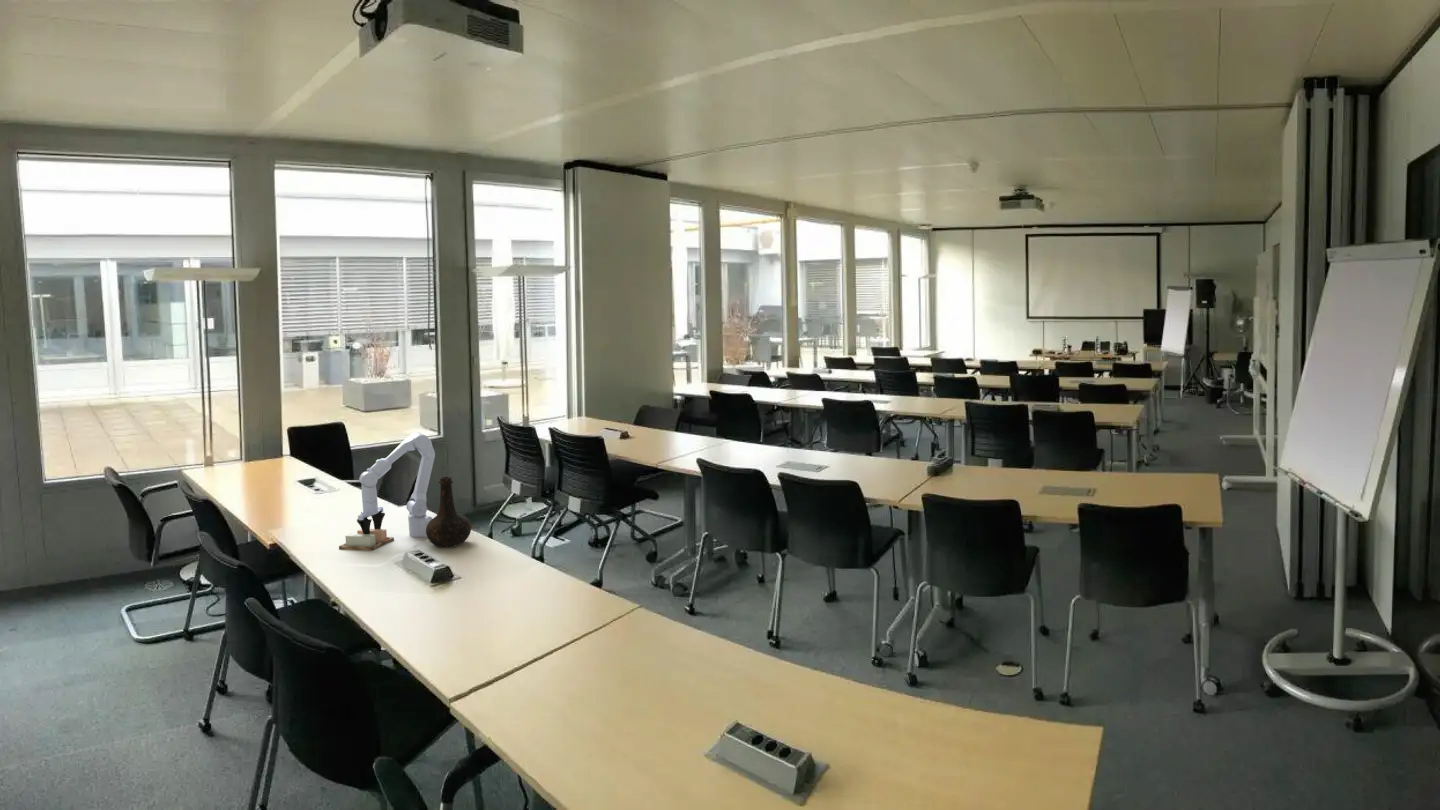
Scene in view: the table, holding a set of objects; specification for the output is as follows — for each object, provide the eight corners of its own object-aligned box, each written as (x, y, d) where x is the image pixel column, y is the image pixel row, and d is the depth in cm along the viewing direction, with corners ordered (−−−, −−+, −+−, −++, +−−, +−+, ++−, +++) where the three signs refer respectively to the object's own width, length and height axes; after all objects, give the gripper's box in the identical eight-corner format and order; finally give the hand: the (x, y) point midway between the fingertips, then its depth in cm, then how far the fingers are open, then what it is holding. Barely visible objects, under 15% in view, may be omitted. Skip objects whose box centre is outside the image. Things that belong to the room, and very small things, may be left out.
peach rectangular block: (387, 541, 353) (386, 529, 353) (382, 543, 350) (381, 531, 349) (363, 540, 355) (362, 528, 355) (358, 542, 352) (357, 530, 351)
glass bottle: (442, 553, 337) (437, 484, 333) (418, 546, 348) (413, 478, 345) (480, 543, 350) (477, 476, 347) (456, 536, 362) (452, 471, 358)
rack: (394, 542, 355) (393, 537, 354) (372, 552, 340) (372, 547, 340) (361, 540, 358) (361, 536, 357) (339, 550, 343) (338, 546, 343)
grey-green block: (375, 546, 346) (375, 534, 345) (370, 548, 342) (369, 536, 342) (351, 545, 348) (350, 533, 347) (346, 547, 344) (345, 535, 344)
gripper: (371, 496, 358) (374, 528, 360) (350, 504, 344) (352, 537, 346) (386, 496, 357) (389, 528, 359) (365, 505, 343) (368, 538, 345)
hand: (372, 532), depth 352 cm, fingers open, 7 cm apart
